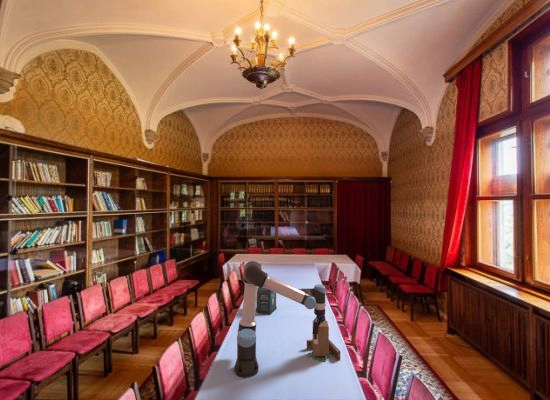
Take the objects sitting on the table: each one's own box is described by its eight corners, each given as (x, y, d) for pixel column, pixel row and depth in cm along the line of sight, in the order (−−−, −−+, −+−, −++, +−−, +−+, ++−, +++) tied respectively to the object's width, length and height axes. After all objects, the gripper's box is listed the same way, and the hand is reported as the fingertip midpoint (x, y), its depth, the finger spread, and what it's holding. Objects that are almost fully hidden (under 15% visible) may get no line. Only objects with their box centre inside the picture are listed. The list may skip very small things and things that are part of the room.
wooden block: (312, 348, 209) (312, 319, 209) (326, 348, 209) (327, 320, 209) (313, 356, 199) (313, 326, 199) (328, 356, 199) (328, 326, 199)
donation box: (270, 315, 273) (270, 284, 272) (254, 312, 279) (254, 282, 278) (276, 308, 288) (276, 279, 287) (261, 306, 294) (261, 278, 293)
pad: (324, 362, 196) (324, 361, 196) (307, 357, 202) (307, 356, 202) (330, 353, 207) (330, 353, 207) (314, 349, 212) (314, 348, 212)
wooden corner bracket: (318, 363, 194) (318, 354, 194) (306, 348, 213) (306, 340, 213) (340, 360, 199) (340, 351, 198) (327, 345, 218) (327, 337, 218)
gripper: (318, 315, 191) (318, 348, 192) (330, 303, 213) (330, 333, 213) (307, 313, 195) (307, 345, 195) (320, 301, 216) (320, 331, 217)
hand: (319, 339), depth 204 cm, fingers closed on wooden block, 12 cm apart
